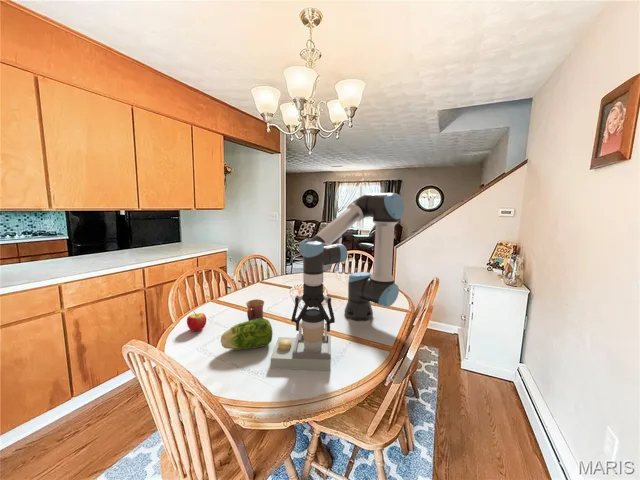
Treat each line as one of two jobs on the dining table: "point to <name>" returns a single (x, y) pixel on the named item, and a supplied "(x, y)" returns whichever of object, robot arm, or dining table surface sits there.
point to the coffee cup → (312, 330)
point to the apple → (196, 321)
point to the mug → (255, 309)
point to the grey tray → (300, 354)
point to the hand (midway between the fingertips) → (313, 338)
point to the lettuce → (248, 335)
